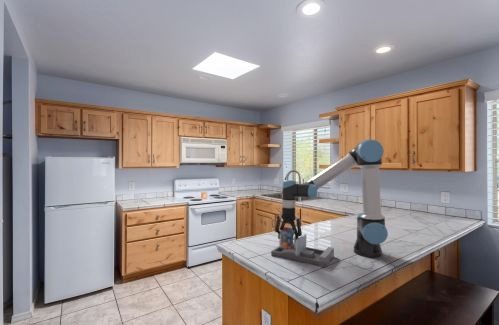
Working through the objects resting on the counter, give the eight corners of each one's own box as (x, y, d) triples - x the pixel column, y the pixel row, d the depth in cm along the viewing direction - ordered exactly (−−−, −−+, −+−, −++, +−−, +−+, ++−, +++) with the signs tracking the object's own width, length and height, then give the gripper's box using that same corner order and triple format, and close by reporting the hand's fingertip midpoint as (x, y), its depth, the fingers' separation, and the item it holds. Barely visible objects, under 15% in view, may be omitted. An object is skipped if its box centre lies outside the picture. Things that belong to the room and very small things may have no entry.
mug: (285, 251, 139) (285, 232, 139) (275, 246, 148) (275, 228, 148) (302, 248, 145) (302, 229, 145) (292, 243, 153) (292, 226, 153)
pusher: (316, 253, 145) (316, 235, 145) (308, 261, 133) (308, 242, 133) (304, 250, 149) (304, 233, 149) (295, 258, 137) (295, 240, 137)
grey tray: (333, 256, 142) (333, 247, 142) (325, 267, 127) (325, 257, 127) (284, 246, 157) (284, 238, 157) (271, 255, 143) (271, 246, 143)
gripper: (308, 208, 144) (307, 248, 144) (275, 204, 155) (274, 241, 155) (304, 210, 138) (303, 251, 138) (269, 205, 149) (268, 244, 149)
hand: (288, 246), depth 147 cm, fingers closed on mug, 8 cm apart
